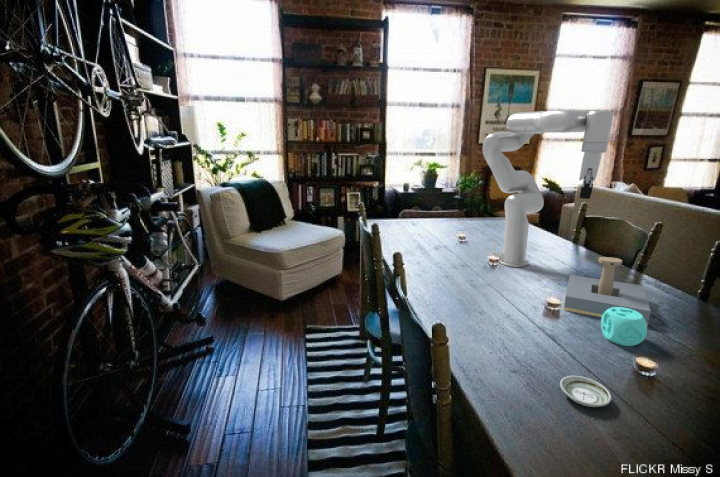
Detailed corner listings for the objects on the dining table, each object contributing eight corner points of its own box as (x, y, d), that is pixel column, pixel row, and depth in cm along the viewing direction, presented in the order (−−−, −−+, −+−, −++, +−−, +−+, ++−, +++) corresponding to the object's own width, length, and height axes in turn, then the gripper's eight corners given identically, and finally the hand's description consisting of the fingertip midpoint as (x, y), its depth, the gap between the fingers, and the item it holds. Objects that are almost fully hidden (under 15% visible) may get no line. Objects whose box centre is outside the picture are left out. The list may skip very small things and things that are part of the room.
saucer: (561, 408, 79) (563, 398, 78) (556, 380, 87) (557, 371, 87) (615, 419, 75) (617, 409, 75) (603, 389, 84) (605, 380, 83)
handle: (616, 305, 121) (624, 262, 117) (594, 303, 123) (601, 260, 119) (612, 299, 126) (619, 258, 122) (590, 297, 128) (597, 256, 124)
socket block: (563, 309, 121) (565, 295, 120) (568, 287, 139) (570, 274, 138) (647, 326, 110) (650, 311, 109) (640, 299, 128) (643, 285, 127)
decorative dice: (644, 347, 99) (649, 320, 97) (611, 345, 101) (616, 318, 99) (629, 332, 107) (633, 307, 105) (598, 330, 108) (603, 305, 106)
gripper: (583, 146, 137) (575, 191, 142) (580, 148, 123) (571, 199, 129) (607, 146, 133) (598, 193, 138) (606, 149, 120) (596, 201, 125)
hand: (585, 196), depth 133 cm, fingers open, 9 cm apart
